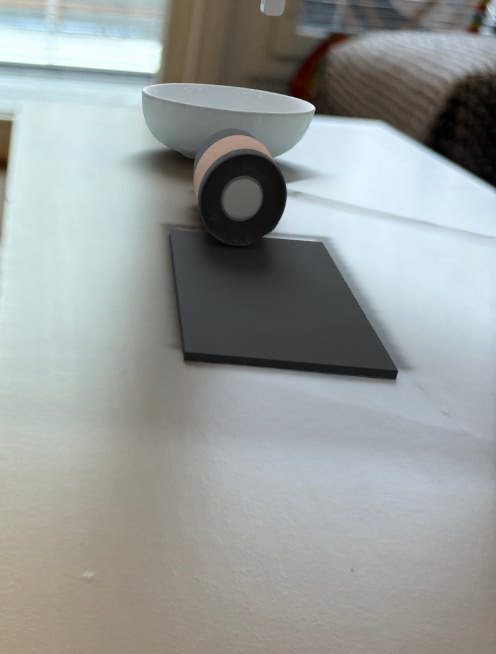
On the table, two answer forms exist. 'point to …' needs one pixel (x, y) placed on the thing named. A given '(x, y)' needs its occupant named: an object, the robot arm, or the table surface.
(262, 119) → the serving bowl
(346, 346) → the mat
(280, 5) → the robot arm
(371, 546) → the table surface
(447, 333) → the table surface
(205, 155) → the travel mug
